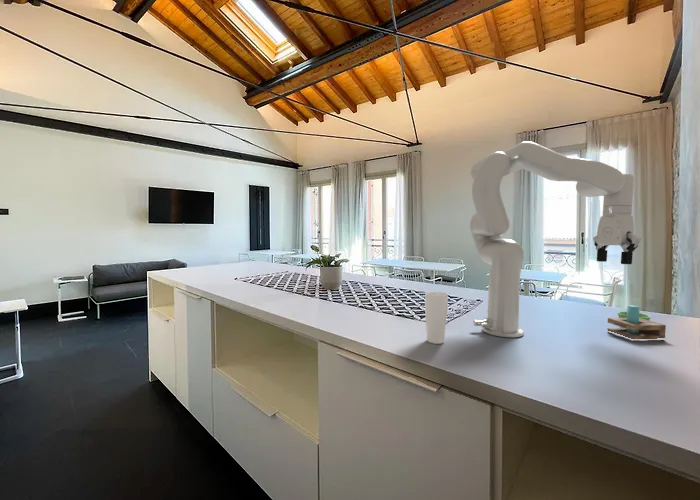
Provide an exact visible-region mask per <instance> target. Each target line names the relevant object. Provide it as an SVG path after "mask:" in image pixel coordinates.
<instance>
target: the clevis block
mask: <svg viewBox="0 0 700 500" xmlns="http://www.w3.org/2000/svg"><path fill="white" fill-rule="evenodd" d="M607 323H608V324H611V325H614V326H617V327H609V328H606V329H607V330H608V331H611V332H614V333H617V334H620V335H623V336H625V337H628V338H631V339H657V338H665V339H666V328H667V327H666V324H664V323H661V322H656V321H653V320H645V319H642V318H639V323H629V322H627V318H619V317H607ZM626 328H627V329H630V330H639V332H638V334H630V333H627V332H626Z"/></svg>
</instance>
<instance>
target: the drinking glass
mask: <svg viewBox="0 0 700 500" xmlns="http://www.w3.org/2000/svg"><path fill="white" fill-rule="evenodd" d="M448 300H449V297H448V293H446V292H441V291H427V292H425V294H424V312H425V313H424V314H425V326H426V341H427V342H428V343H430V344H434V345H439V344H440V345H441V344H443V343H445V340H446V339H445V338H446V337H445V336H446V334H445V333H446V325H447V316H448V304H449V303H448V302H449V301H448Z"/></svg>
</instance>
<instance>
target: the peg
mask: <svg viewBox="0 0 700 500" xmlns="http://www.w3.org/2000/svg"><path fill="white" fill-rule="evenodd" d="M626 310H627V311H626V312H627V322H629V323H639V313H641V312H640V311H641V308H640V306H638V305H630V304H629V305H627V307H626ZM626 332H627V333H630V334H638V332H639V330H630V329H627V328H626Z"/></svg>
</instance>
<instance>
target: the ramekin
mask: <svg viewBox="0 0 700 500" xmlns="http://www.w3.org/2000/svg"><path fill="white" fill-rule="evenodd" d="M617 316H618V318H627V311H618V312H617ZM639 318H642V319H645V320H649V321H651V320H650V319H651V315H650V314H646V313H641V312H639Z"/></svg>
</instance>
